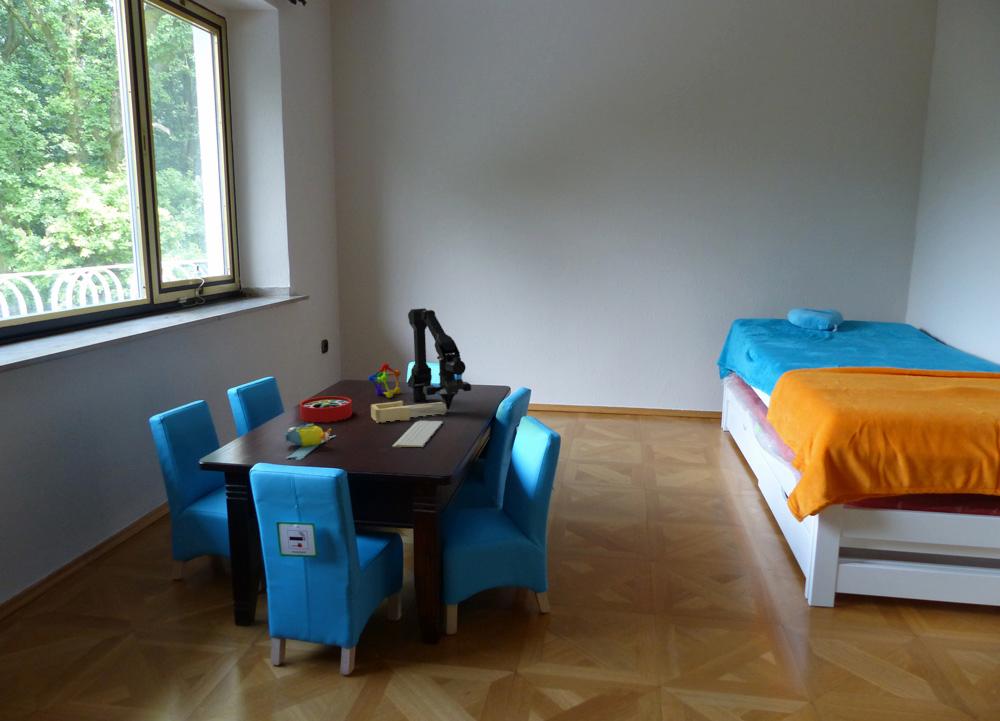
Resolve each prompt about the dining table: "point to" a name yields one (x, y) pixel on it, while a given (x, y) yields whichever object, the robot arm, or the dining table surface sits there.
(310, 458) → the dining table surface
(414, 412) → the ash slat
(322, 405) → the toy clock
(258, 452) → the dining table surface
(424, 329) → the robot arm
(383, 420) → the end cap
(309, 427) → the toy airplane
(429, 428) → the baseboard molding
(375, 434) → the dining table surface
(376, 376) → the educational toy
